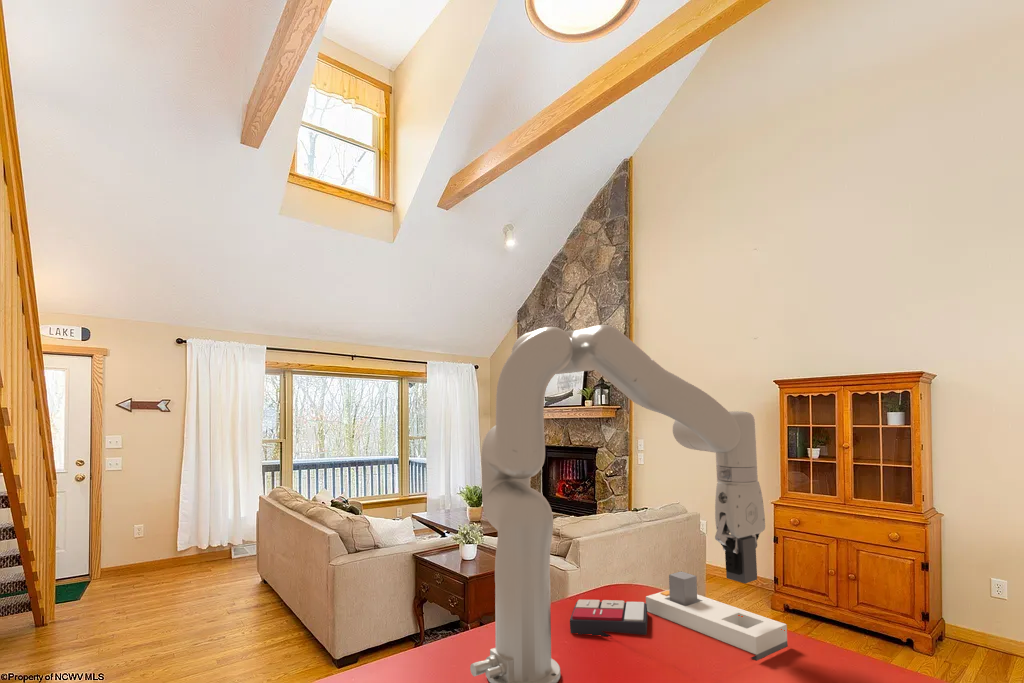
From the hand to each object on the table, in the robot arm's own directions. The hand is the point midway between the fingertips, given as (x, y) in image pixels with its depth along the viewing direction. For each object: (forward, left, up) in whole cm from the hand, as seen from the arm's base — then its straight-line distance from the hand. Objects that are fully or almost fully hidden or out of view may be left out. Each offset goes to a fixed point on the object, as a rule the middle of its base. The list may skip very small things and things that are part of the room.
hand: (741, 569), depth 114 cm
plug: (0, 0, -2) cm, 2 cm away
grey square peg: (0, +14, -12) cm, 19 cm away
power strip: (0, +7, -13) cm, 15 cm away
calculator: (-15, +21, -14) cm, 29 cm away
